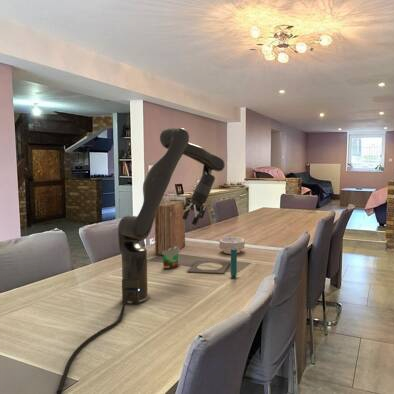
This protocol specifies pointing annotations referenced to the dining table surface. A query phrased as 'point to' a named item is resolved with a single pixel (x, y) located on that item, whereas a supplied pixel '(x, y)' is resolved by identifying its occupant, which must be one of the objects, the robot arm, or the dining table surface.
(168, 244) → the brown wooden block
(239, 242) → the paper bowls
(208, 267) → the square plate with hole
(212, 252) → the dining table surface
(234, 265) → the marker
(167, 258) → the potted plant
